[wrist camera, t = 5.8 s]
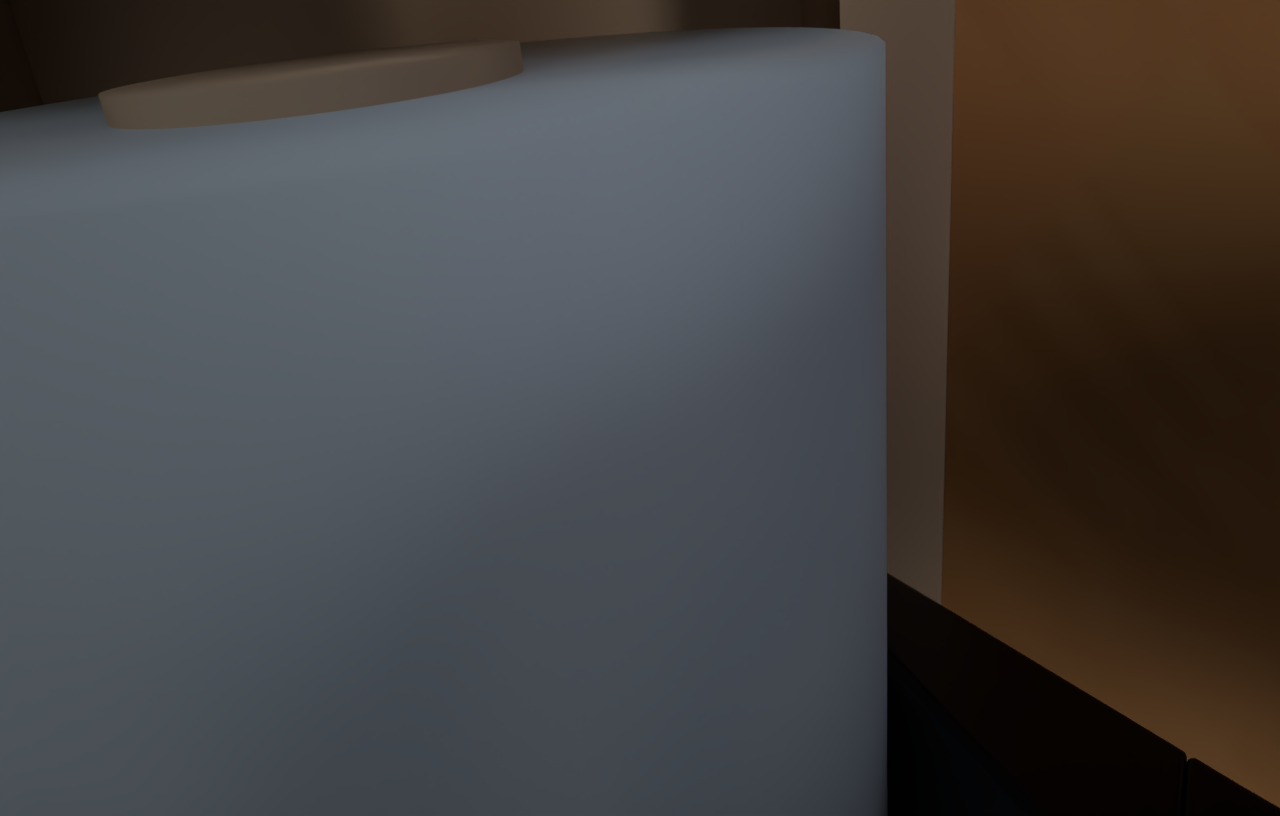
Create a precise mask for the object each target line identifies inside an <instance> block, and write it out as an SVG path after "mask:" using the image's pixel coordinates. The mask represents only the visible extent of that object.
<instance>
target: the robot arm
mask: <svg viewBox="0 0 1280 816" xmlns="http://www.w3.org/2000/svg"><path fill="white" fill-rule="evenodd" d="M887 783H888V816H1280V808H1279V807H1277V806H1276V805H1274V804H1272V803H1270V802H1269V801H1267V800H1265V799H1263V798H1262V797H1260V796H1258V795H1256V794H1255V793H1253V792H1251V791H1250V790H1248V789H1246V788H1244V787H1243V786H1241V785H1239V784H1238V783H1236V782H1234V781H1233V780H1231V779H1229V778H1228V777H1226V776H1224V775H1223V774H1221V773H1219V772H1218V771H1216V770H1214V769H1213V768H1211V767H1209V766H1208V765H1206V764H1204V763H1203V762H1201V761H1199V760H1198V759H1195V758H1190V759H1189V760H1188V761H1187V756H1186V754H1185V752H1184V751H1182V750H1180V749H1179V748H1177V747H1176V746H1174V745H1172V744H1171V743H1169V742H1167V741H1166V740H1164V739H1162V738H1161V737H1159V736H1157V735H1156V734H1154V733H1152V732H1151V731H1149V730H1147V729H1146V728H1144V727H1142V726H1141V725H1139V724H1137V723H1136V722H1134V721H1132V720H1131V719H1129V718H1127V717H1126V716H1124V715H1122V714H1121V713H1119V712H1118V711H1116V710H1114V709H1113V708H1111V707H1109V706H1108V705H1106V704H1104V703H1103V702H1101V701H1099V700H1098V699H1096V698H1094V697H1093V696H1091V695H1089V694H1088V693H1086V692H1084V691H1083V690H1081V689H1079V688H1078V687H1076V686H1074V685H1073V684H1071V683H1069V682H1068V681H1066V680H1064V679H1063V678H1061V677H1060V676H1058V675H1056V674H1055V673H1053V672H1051V671H1050V670H1048V669H1046V668H1045V667H1043V666H1041V665H1040V664H1038V663H1036V662H1035V661H1033V660H1031V659H1030V658H1028V657H1026V656H1025V655H1023V654H1021V653H1020V652H1018V651H1016V650H1015V649H1013V648H1011V647H1010V646H1008V645H1006V644H1005V643H1003V642H1002V641H1000V640H998V639H997V638H995V637H993V636H992V635H990V634H988V633H987V632H985V631H983V630H982V629H980V628H978V627H977V626H975V625H973V624H972V623H970V622H968V621H967V620H965V619H963V618H962V617H960V616H958V615H957V614H955V613H953V612H952V611H950V610H948V609H947V608H945V607H944V606H942V605H940V604H939V603H937V602H935V601H934V600H932V599H930V598H929V597H927V596H925V595H924V594H922V593H920V592H919V591H917V590H915V589H914V588H912V587H910V586H909V585H907V584H905V583H904V582H902V581H900V580H899V579H897V578H895V577H894V576H892V575H890V574H889V573H887Z"/></svg>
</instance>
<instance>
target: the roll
mask: <svg viewBox="0 0 1280 816" xmlns="http://www.w3.org/2000/svg"><path fill="white" fill-rule="evenodd" d="M0 816H888V783H887V418H886V53H885V41H884V40H882V39H881V38H880V37H878V36H876V35H872V34H868V33H864V32H859V31H851V30H842V29H828V28H805V27H759V28H723V29H699V30H679V31H662V32H646V33H631V34H617V35H604V36H591V37H578V38H567V39H555V40H544V41H533V42H522V43H520V42H519V41H518V40H511V39H493V40H471V41H457V42H444V43H432V44H421V45H410V46H400V47H390V48H381V49H372V50H363V51H354V52H345V53H336V54H328V55H320V56H312V57H304V58H296V59H288V60H281V61H273V62H266V63H259V64H252V65H244V66H237V67H231V68H224V69H217V70H211V71H204V72H198V73H192V74H185V75H179V76H173V77H168V78H162V79H156V80H151V81H146V82H140V83H135V84H131V85H126V86H121V87H117V88H113V89H110V90H106V91H103V92H101V93H99V94H98V96H95V97H89V98H83V99H76V100H70V101H64V102H58V103H52V104H45V105H39V106H33V107H27V108H22V109H16V110H10V111H4V112H0Z"/></svg>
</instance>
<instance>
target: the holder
mask: <svg viewBox="0 0 1280 816" xmlns="http://www.w3.org/2000/svg"><path fill="white" fill-rule="evenodd" d="M759 27H805V28H828V29H842V30H851V31H859V32H864V33H868V34H872V35H876V36H878V37H880V38H881V39H882V40H884V41H885V53H886V418H887V573H889V574H890V575H892V576H894V577H895V578H897V579H899V580H900V581H902V582H904V583H905V584H907V585H909V586H910V587H912V588H914V589H915V590H917V591H919V592H920V593H922V594H924V595H925V596H927V597H929V598H930V599H932V600H934V601H935V602H937V603H939V604H940V605H941V596H942V553H943V509H944V466H945V423H946V380H947V337H948V294H949V251H950V208H951V165H952V121H953V78H954V35H955V0H0V112H4V111H10V110H16V109H22V108H27V107H33V106H39V105H45V104H52V103H58V102H64V101H70V100H76V99H83V98H89V97H95V96H98V94H99V93H101V92H103V91H106V90H110V89H113V88H117V87H121V86H126V85H131V84H135V83H140V82H146V81H151V80H156V79H162V78H168V77H173V76H179V75H185V74H192V73H198V72H204V71H211V70H217V69H224V68H231V67H237V66H244V65H252V64H259V63H266V62H273V61H281V60H288V59H296V58H304V57H312V56H320V55H328V54H336V53H345V52H354V51H363V50H372V49H381V48H390V47H400V46H410V45H421V44H432V43H444V42H457V41H471V40H493V39H511V40H518V41H519V42H520V43H522V42H533V41H544V40H555V39H567V38H578V37H591V36H604V35H617V34H631V33H646V32H662V31H679V30H699V29H723V28H759Z"/></svg>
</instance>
